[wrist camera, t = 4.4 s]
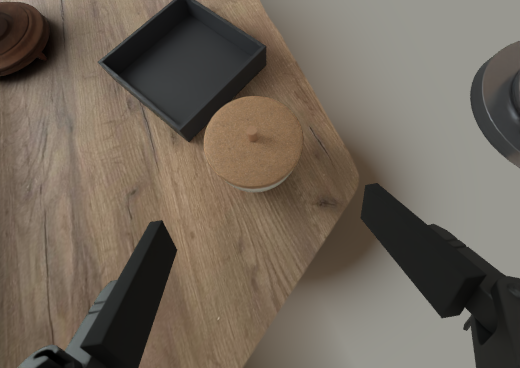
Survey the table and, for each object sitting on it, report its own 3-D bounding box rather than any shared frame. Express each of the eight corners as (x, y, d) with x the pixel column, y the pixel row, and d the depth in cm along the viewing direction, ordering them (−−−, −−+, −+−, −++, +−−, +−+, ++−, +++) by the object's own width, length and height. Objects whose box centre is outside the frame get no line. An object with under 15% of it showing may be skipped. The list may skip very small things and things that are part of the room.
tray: (266, 64, 33) (266, 46, 30) (188, 142, 30) (179, 131, 27) (190, 13, 37) (182, -9, 33) (113, 79, 34) (97, 62, 30)
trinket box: (212, 141, 30) (188, 100, 21) (280, 121, 31) (285, 72, 22) (230, 210, 28) (212, 197, 18) (305, 187, 28) (323, 163, 19)
